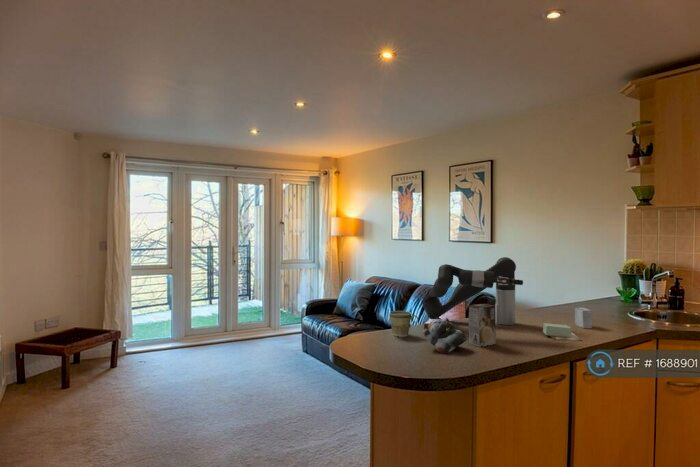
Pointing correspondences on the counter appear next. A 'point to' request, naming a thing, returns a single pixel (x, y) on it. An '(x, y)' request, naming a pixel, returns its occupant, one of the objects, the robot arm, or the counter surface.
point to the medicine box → (583, 317)
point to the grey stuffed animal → (443, 335)
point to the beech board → (573, 337)
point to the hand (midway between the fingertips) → (522, 282)
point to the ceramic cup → (401, 322)
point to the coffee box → (482, 325)
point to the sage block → (557, 330)
